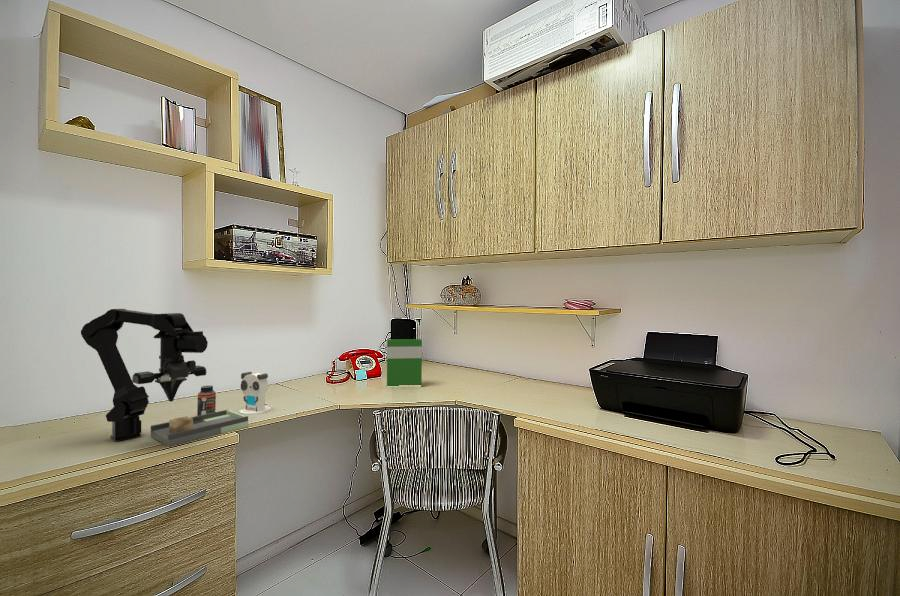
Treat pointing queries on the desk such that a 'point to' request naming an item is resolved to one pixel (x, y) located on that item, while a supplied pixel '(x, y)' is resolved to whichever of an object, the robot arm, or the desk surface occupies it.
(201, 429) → the shallow grey tray
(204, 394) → the supplement bottle
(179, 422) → the maple block
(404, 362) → the hardback book
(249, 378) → the panda figurine
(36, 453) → the desk surface
